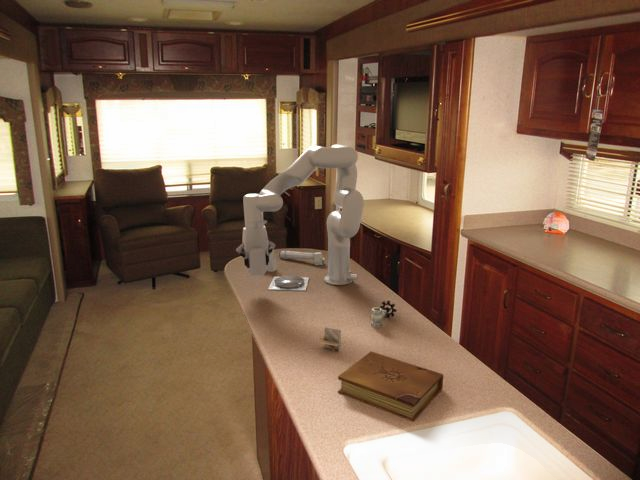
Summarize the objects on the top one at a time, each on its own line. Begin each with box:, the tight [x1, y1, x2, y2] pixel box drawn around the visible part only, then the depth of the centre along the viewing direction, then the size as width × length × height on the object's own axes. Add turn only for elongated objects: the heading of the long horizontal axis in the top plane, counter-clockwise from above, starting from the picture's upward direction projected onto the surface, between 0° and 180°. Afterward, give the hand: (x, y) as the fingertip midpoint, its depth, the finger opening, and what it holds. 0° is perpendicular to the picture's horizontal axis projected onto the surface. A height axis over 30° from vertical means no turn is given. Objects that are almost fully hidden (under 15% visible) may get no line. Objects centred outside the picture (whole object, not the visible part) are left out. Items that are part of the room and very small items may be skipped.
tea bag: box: [266, 249, 277, 273], centre depth 245 cm, size 4×7×10 cm, turn 66°
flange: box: [267, 275, 310, 292], centre depth 228 cm, size 16×16×2 cm
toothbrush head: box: [278, 249, 326, 266], centre depth 259 cm, size 5×7×25 cm
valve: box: [370, 299, 398, 329], centre depth 189 cm, size 7×7×12 cm
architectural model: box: [317, 326, 342, 353], centre depth 168 cm, size 3×7×7 cm, turn 70°
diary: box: [337, 351, 444, 422], centre depth 145 cm, size 23×19×6 cm
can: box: [247, 247, 268, 277], centre depth 215 cm, size 8×8×12 cm
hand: (257, 265), depth 215 cm, fingers closed on can, 7 cm apart
